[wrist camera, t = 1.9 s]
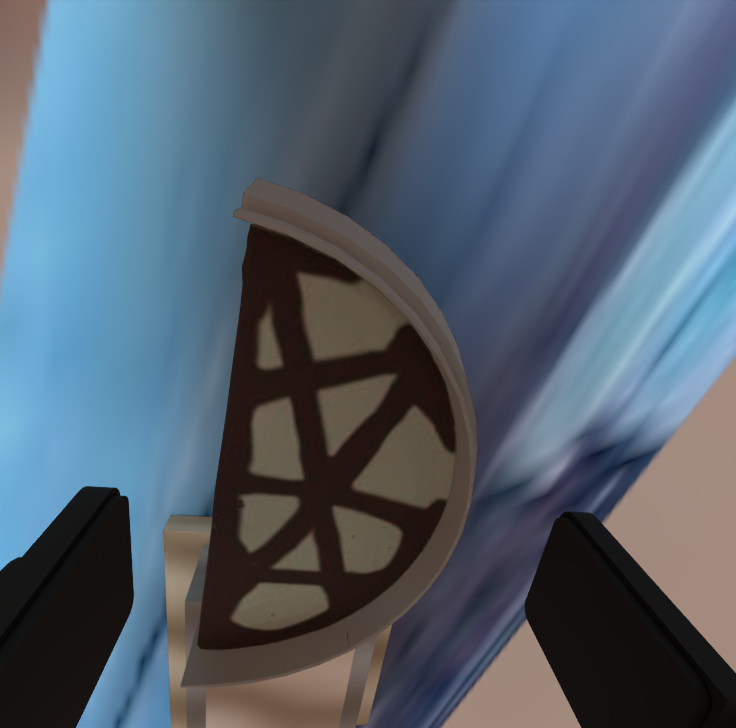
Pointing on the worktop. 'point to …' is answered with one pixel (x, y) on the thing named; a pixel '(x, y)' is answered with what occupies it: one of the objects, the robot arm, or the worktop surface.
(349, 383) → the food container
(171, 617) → the beige rectangular frame
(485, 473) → the worktop surface
